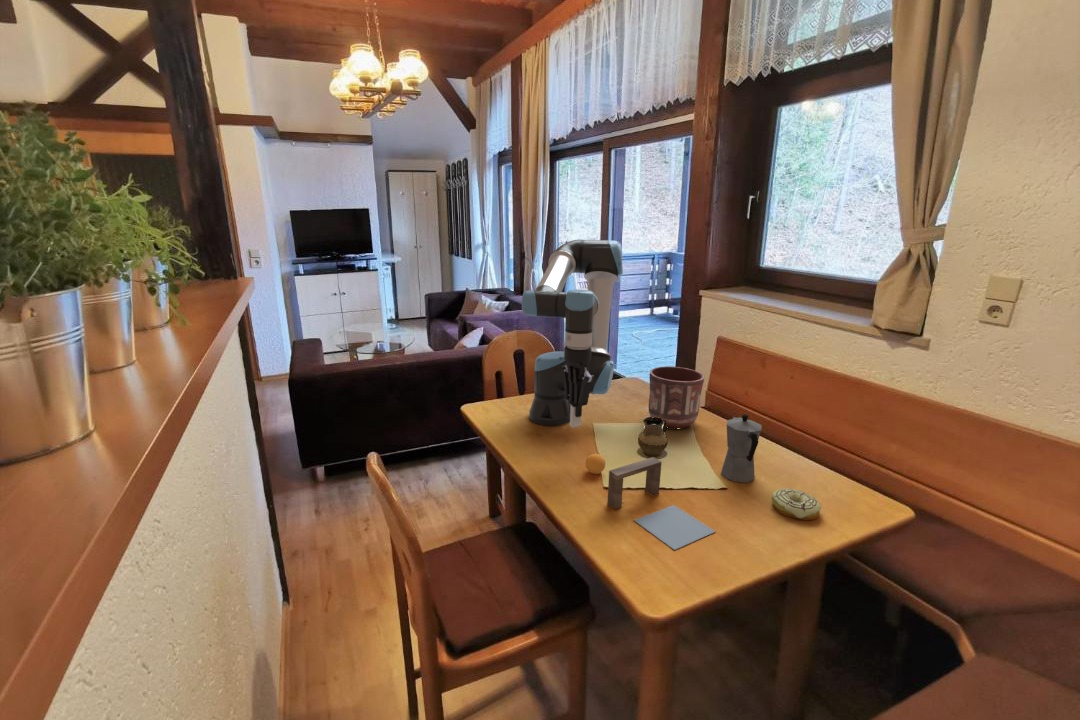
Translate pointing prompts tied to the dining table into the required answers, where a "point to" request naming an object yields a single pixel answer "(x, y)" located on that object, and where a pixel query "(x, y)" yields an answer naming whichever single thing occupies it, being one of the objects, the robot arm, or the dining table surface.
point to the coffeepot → (741, 449)
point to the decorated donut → (796, 504)
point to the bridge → (619, 473)
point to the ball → (595, 463)
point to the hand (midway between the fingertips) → (575, 425)
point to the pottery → (675, 395)
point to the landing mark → (674, 527)
